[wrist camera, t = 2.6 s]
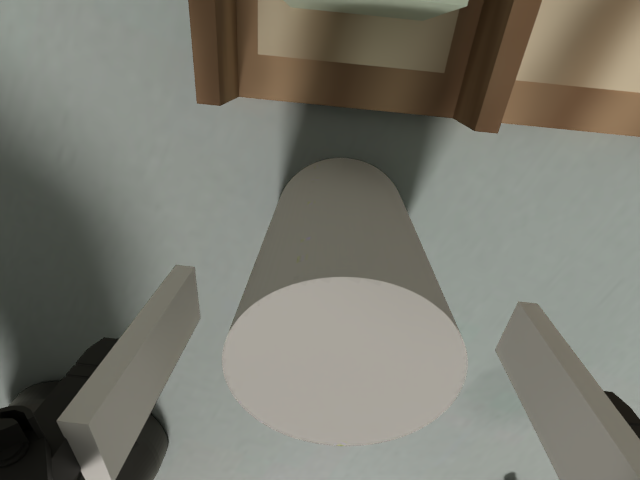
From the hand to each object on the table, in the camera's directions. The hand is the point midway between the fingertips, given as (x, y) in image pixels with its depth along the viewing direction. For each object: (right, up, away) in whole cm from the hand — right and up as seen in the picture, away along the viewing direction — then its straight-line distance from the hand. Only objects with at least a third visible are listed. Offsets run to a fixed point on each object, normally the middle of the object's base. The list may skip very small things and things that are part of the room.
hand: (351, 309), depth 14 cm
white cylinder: (0, +4, +8) cm, 9 cm away
